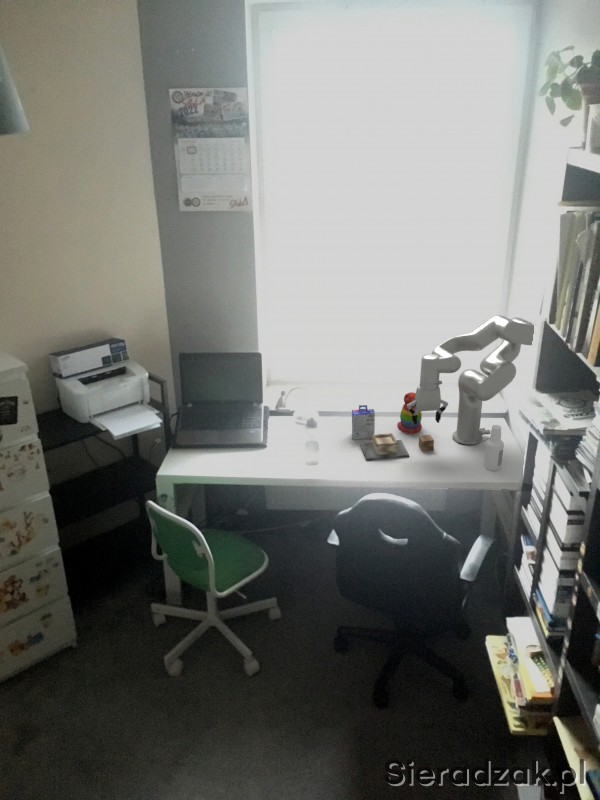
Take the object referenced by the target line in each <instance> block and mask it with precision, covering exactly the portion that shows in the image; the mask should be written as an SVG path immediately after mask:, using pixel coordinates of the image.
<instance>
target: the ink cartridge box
mask: <svg viewBox="0 0 600 800" xmlns="http://www.w3.org/2000/svg"><path fill="white" fill-rule="evenodd" d="M375 416H376V414H375V409H374V408H368V404H365V405H358V409H352V410H351V430H352V432H351V437H352V440H365V439H366V440H368V439H371V440H372V435H375V428H376V427H375V422H376V420H375V419H376V417H375Z"/></svg>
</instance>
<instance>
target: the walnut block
mask: <svg viewBox="0 0 600 800" xmlns="http://www.w3.org/2000/svg"><path fill="white" fill-rule="evenodd" d="M434 445H435V439H434V438H433V436H432V434H424V435H422V434H421V435H419V436H418V447H419V449H420V451H421V452H432V451H434Z"/></svg>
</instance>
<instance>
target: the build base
mask: <svg viewBox="0 0 600 800" xmlns="http://www.w3.org/2000/svg"><path fill="white" fill-rule="evenodd" d="M359 447H360V448H361V451H362V453H363V456H364V459H365V461H366V462H367V461H368V462H369V461H379V460H388V459H389V460H390V459H400V458H401V459H403V458H410V454H409V452H408V450H407V448H406V446H405V444H404V443H403V441H402V439H396V438H395V436H394V434H393V433H392V432H390V433H378V434H377V433H376V434H375V433H374V435H372V439H371V442H363V443H360V444H359Z"/></svg>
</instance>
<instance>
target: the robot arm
mask: <svg viewBox="0 0 600 800" xmlns="http://www.w3.org/2000/svg"><path fill="white" fill-rule="evenodd" d="M532 323H533V322H531V321H528V320H526V319H523V318H521V317H512V318H509V317H506V316H504V315H500V314H497V315H494V316H492V317H490V318H489V319H486V321H484V322H483V323H482V324H480V325H479V326H477V327H476V328H475V329H473V330H472V331H470V332H469V333H465V334H461V335H458V336H453V337H451V338H448V339H447V340H445V341H444V342H442V343H441V344H439V345H437V346H436V347H435V348H434V349H433V350H432V351H431V353H427V354H424V355H422V357H421V362H420V365H421V366H420V373H419V374H420V375H419V376H420V377H419V385H417V387H416V391H415V393H416V394H415V400H414V401H413V402H411V403H409V404H407V407H408V409H409V411H410V412H411V413H412V421H413V422H414V424H417V415H416V414H417V413H418V412H419V411H421V412H428V411H429V412H431V411H433V412H434V411H435V422H436V423H438V424H440V421H441V418H442V414H443V412H444V411H445V410H446V409H447V407H449V406H448V405H449V403H448V401H446V400H444V399H442V397H441V396H442V395H441V388H440V387H441V386H440V385H442V384H443V381H442V380H440V374H454V373H456V372H458V371H459V370H460V369H461V367H462V361H461V359H460V358H459V357H458V356H457V355H455V354H457V353H459V352H467V351H469V352H479V351H482V350H484V349H486V348H487V347H488V346H489V345H491V344H492V343H494V342H496V341H497V340H498V339H501V340H502V342H501V343H500V345H498V346H497V347H496V348H495V349H493V351H491V352H489V354H488V355H487V356H485V357H484V358H483V359H482V360H481V362H480V364H479V368H480V371H481V372H480V371H478V370H475V369H472V368H469V369H464V370H463V371H462V372H461V373H460V374H459V376H458V383H457V384H458V394H459V396H458V397H459V398H458V407H457V408H458V409H457V410H458V411H457V420H456V421H457V423H456V430H455V431H454V432H453V433H452V439H453V440H454V441H455V442H457V443H459V444H460V445H465V446H473V445H478V444H479V443H481V442H482V441H483V436H484V435H491V430H490V429H486V427H482V428H481V421H482V420H481V417H482V407H483V402H485V401H486V402H487V401H489V400H491V399H492V398H494V397H495V396H497V394H499V393H500V392H501V391H503V390H504V389H505V388H506V387H508V386H509V385H510V384H511V382H513V380H514V379H515V377H516V375H517V367H516V365H515V364H514V363H513V361H515V360H516V359H517V358H518V356H519V355H520V352H521V346H522V345H525V346H533V345H532V341H533V334H534V325H533V324H534V323H533V324H532ZM441 404H442V406H441ZM412 406H414V407H415V408H414V409H411V407H412Z"/></svg>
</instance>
